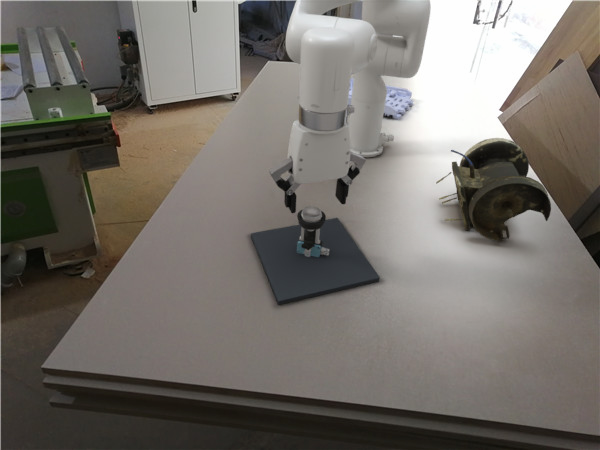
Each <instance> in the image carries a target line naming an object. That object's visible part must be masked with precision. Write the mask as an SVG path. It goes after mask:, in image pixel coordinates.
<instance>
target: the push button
mask: <svg viewBox="0 0 600 450" xmlns="http://www.w3.org/2000/svg"><path fill="white" fill-rule="evenodd" d="M296 216H297V217H296V218H297V221H298V225H301V226H302V227H301V236H300V238H299V240H298V243H297V253H301V254H305V256H307V257H310V256H315V257H319V256H320V254H321V255H323V254H324V255H329V253H328V252H329V249H326V248H324V247H322V243H323V242H322V241H321V240H319V235H320V228H321V227H322V226H323V224H324V222H325V220H327V215H326V213H325V212H324V211H323V210H321V209H320V208H319V207H317V206H314V205H313V206H311V205H309V206H306V207H304V208H303V209H301V210H299V211H298V213H297V215H296ZM305 229H306V232H305ZM315 231H316V232H315ZM326 250H327V251H326ZM324 251H326V252H324ZM325 253H327V254H325Z"/></svg>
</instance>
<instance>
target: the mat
mask: <svg viewBox="0 0 600 450" xmlns="http://www.w3.org/2000/svg"><path fill="white" fill-rule="evenodd" d="M301 227H302V226H301V225H299V224H295V225H290V226H284V227H278V228H272V229H267V230H261V231H256V232H251V233H250V238H251V240H252V243H253V245H254V248H255V250H256V253H257V255H258V258H259V261H260V263H261V265H262V268H263V270H264V273H265V276H266V278H267V280H268V283H269V285H270V288H271V290H272V293H273V295H274V298H275V300H276V302H277V305H278V306H280V305H285V304H289V303H292V302H297V301H302V300H306V299H310V298H314V297H319V296H322V295H326V294H327V295H328V294H331V293H335V292H339V291H344V290H348V289H352V288H357V287H360V286H365V285H369V284H373V283H378V282H380V280H381V278H380V276H379V274H378V272H377V271H376V270H375V269H374V267H373V266H372V264H371V263H370V261H369V260H368V259H367V257H366V256H365V254H364V253H363V251H362V250H361V248H360V247H359V246H358V244H357V243H356V242H355V240H354V239H353V237H352V236H351V235H350V234H349V232H348V230H347V229H346V228H345V226H344V225H343V224H342V222H341V220H340V219H339V218H338V217H334V218H328V219H326V220H325V222H324V224H323V226H322V227H321V228H320V235H319V240H321V241H322V242H323V243H322V247H324V248H326V249H329V252H328V253H329V255H324V254H323V255H321V254H320V256H319V257H315V256H310V257H307V256H305V254H301V253H297V243H298V240H299V238H300V236H301ZM305 232H306V229H305ZM315 232H316V231H315ZM326 251H327V250H326ZM326 251H324V252H326ZM325 254H327V253H325Z"/></svg>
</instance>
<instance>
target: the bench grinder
mask: <svg viewBox="0 0 600 450" xmlns="http://www.w3.org/2000/svg"><path fill="white" fill-rule="evenodd" d="M450 152H451V153H455V154H457V155H459V156H462V157H461V160H460V163H459V165H458V161H451V170H452V171H450V172H449V173H448V174H446V175H445V176H444V177H442V178H440V179H438V180H437V181H436V185H437V184H439V183H440V182H442V181H443V180H444V179H445V178H447V177H448V176H449V175H451V174H452V175H453V177H454V183H455V184H454V185H455V188H456V189H455V190H456V192H455V193H452V194H448V195H445V196H441V197H438V200H444V199H446V198H448V197H451V196H455V195H456V197H454V198H450V199H446V200H444V201H441V204H445V203H448V202H451V201H453V200H456V199H457V201H458V205H459V209H460V214H461V218H444V221H448V222H452V221H462V223H463V226H464V230H465V231H468V230H471V224H472V226H473V229H474V230H475V231H476V232H477V233H478V234H479V235H481V236H482V237H484V238H485V239H487V240H491V241H495V242H500V243H501V242H503V240H509V239H510V231H509V226H507V225H505V223H507V222H508V221H509V220H510V219H512V218H515V217H517V216H519V215H522V214H523V213H526V212H527V211H533V212H536V213H541V214H542V215H543V218H544V220H545V222H548V220H549V219H550V215H551V211H552V203H551V200H550V198H549V194H548V191H547V190H546V187H545V186H543V184H542V183H540V181H538V180H536V179H535V178H532V177H530V176H528V173H529V169H530V163H529V158H528V156H527V155H526V153H525V151H524V150H523V148H521V146H520V145H519V144H518V143H516V142H515V141H513V140H511V139H507V138H504V137H492V138H485V139H484V140H481V141H479V142H477V143H475V144H474V145H472V146H471V147H470V148H469V149H467V150H466V151H465V153H461V152H459V151H456V150H454V149H451V150H450ZM504 231H505V236H506V237H505V236H504Z"/></svg>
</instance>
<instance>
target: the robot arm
mask: <svg viewBox="0 0 600 450" xmlns="http://www.w3.org/2000/svg"><path fill="white" fill-rule="evenodd" d="M359 1H361V0H296V1H295V2H294V6H293V9H292V12H291V15H290V17H289V20H288V24H287V27H286V28H287V29H286V33H285V52H286V53H287V56H288V58H289V59H290V60H291V61H292V62H294V63H296V64H297V65H300V66H299V70H300V71H299V93H298V119H295V120H294V121H293V123H292V126H291V130H290V135H289V141H288V148H287V157H286V159H285V160H283V161H282V162H280V163H278V164H277V165H275V166H274V167H272V168H270V169H269V171H268V173H269V174H270V176H271V178H272V180H273V181H274V183H275V185H276V186H277V188H279V189H280V190H281V191H283V192H284V201H283V202H284V206H285V208H288V210H289V211H290V213H291V214H296V212H297V194H296V191H297V190H298V188H299V187H300V186H301V185H307V184H308V185H309V184H313V183H314V184H315V183H320V182H321V183H322V182H325V181H326V182H327V181H332V180H336V186H335V197H336V199H337V200H338V202H339V203H340V204H341V205H346V202H347V198H348V196H349V190H350V189H349V188H350V186H351V185H353V180H355V179H356V178H357V176H359V174H361V173H360V172H361V170H362V168H363V167H364V165H365V164H366V162H367V160H366V158H375V157H378V156H379V155H381V154H382V153H383V151H384V145H383V144H385V143H390V142H393V141H394V140H395V137H394V135H393V134H386V132H381V131H382V127H383V126H382V125H383V119H384V115H385V113H384V108H385V102H386V97H387V89H386V85H387V84H386V82H385V81H384V78H383V77H391V78H400V79H412V78H413V77H415V76H416V75H417V74H418V72H419V69H420V67H421V64H422V60H423V55H424V49H425V45H426V39H427V34H428V28H429V23H430V17H431V10H432V9H431V6H432V5H431V0H362V6H361V19H358V18H357V19H356V18H349V17H340V16H334V15H324V14H326V13H327V12H329V11H331V10H334V9H336V8H340V7H344V6H347V5H350V4H354V3H356V2H359ZM352 76H353V79H354V80H353V90H352V99H351V105H348V98H349V89H350V79H351V78H352ZM352 162H353V163H352ZM351 163H352V165H351V166H350V164H351ZM286 172H288V174H289V175H288V176H286V178H285V179H284V178H282V175H283V174H285V173H286Z"/></svg>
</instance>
